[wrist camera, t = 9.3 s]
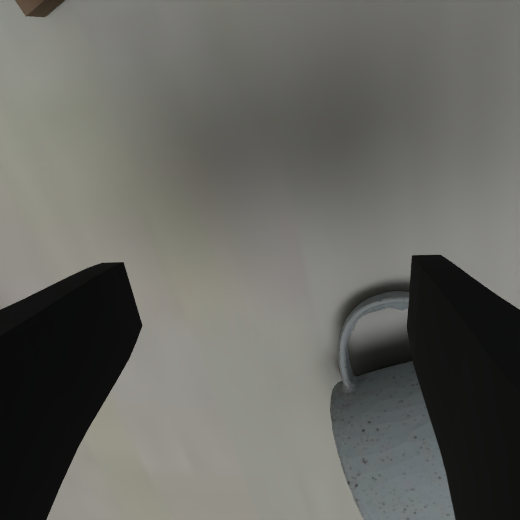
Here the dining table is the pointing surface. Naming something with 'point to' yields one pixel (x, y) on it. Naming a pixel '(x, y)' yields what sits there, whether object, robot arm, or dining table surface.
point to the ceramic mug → (387, 434)
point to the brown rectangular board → (38, 7)
